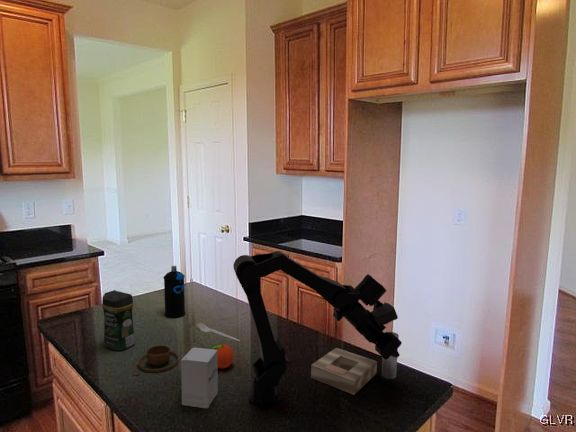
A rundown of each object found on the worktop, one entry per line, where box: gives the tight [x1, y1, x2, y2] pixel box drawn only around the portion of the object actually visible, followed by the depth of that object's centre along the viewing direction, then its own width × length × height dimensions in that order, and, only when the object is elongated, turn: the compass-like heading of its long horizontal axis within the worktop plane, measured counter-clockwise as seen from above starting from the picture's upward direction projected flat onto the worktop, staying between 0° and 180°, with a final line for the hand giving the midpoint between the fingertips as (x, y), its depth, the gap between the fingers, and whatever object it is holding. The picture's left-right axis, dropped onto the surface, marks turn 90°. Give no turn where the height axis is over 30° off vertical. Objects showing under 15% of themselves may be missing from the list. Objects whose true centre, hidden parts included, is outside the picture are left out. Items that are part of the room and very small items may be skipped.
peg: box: [381, 331, 399, 380], centre depth 115 cm, size 4×4×12 cm
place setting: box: [131, 344, 180, 377], centre depth 124 cm, size 18×20×6 cm
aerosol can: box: [162, 265, 186, 319], centre depth 165 cm, size 8×8×20 cm
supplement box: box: [180, 347, 219, 409], centre depth 108 cm, size 7×7×13 cm
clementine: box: [210, 343, 235, 369], centre depth 125 cm, size 8×7×7 cm
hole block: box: [310, 347, 378, 396], centre depth 121 cm, size 14×14×4 cm
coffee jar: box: [101, 289, 136, 352], centre depth 138 cm, size 10×8×19 cm
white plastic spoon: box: [196, 322, 241, 342], centre depth 149 cm, size 3×20×2 cm, turn 57°
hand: (394, 352), depth 116 cm, fingers closed on peg, 4 cm apart
